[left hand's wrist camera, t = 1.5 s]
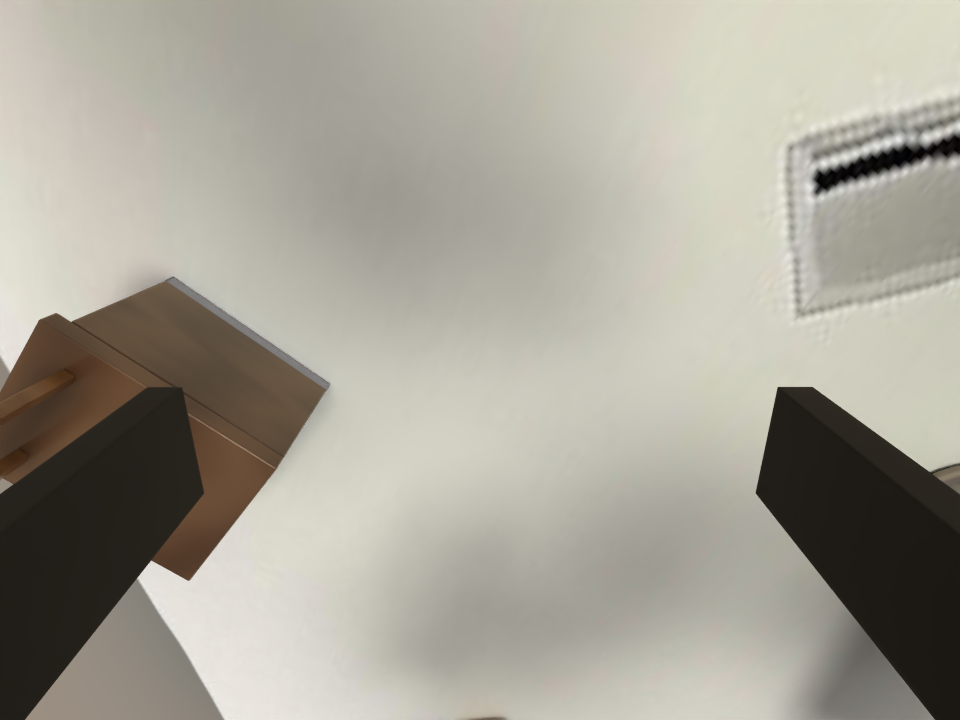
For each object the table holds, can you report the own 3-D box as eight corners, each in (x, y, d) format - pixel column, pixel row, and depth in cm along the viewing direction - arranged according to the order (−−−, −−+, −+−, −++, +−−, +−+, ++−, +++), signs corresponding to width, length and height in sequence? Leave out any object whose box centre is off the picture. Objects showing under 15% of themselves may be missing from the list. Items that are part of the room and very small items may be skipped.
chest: (109, 381, 41) (-4, 452, 32) (173, 276, 38) (71, 320, 29) (260, 475, 44) (199, 566, 34) (330, 384, 41) (284, 456, 32)
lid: (-17, 445, 31) (-190, 550, 23) (56, 312, 29) (-111, 377, 20) (198, 567, 34) (112, 696, 26) (284, 456, 32) (216, 563, 23)
